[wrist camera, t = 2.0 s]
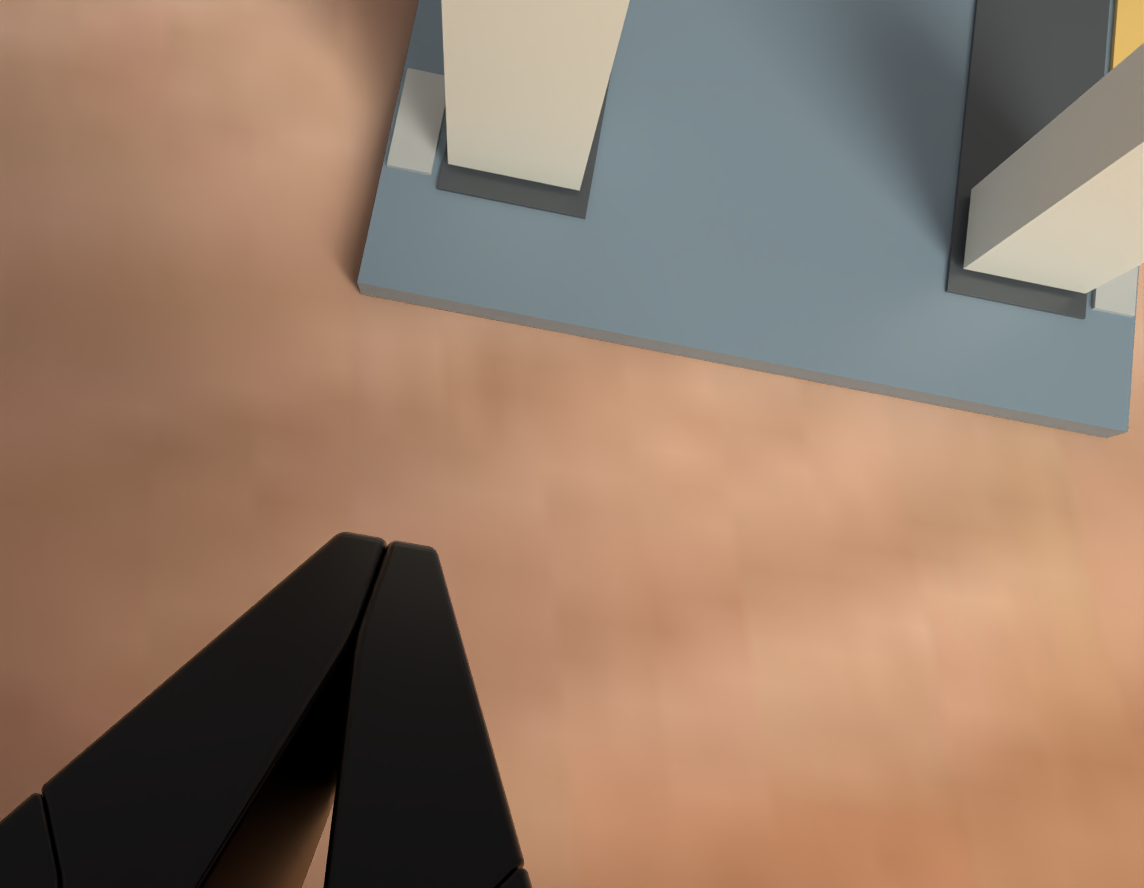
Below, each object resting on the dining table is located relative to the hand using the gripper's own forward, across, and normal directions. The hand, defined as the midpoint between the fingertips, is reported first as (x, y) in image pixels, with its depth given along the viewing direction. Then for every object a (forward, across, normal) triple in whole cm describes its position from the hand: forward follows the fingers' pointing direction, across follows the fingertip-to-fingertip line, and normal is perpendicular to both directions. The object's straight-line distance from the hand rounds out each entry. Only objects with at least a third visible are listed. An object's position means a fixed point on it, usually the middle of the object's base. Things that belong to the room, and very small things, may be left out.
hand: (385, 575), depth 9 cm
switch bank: (+18, -6, +1) cm, 19 cm away
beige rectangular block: (+16, 0, +1) cm, 16 cm away
